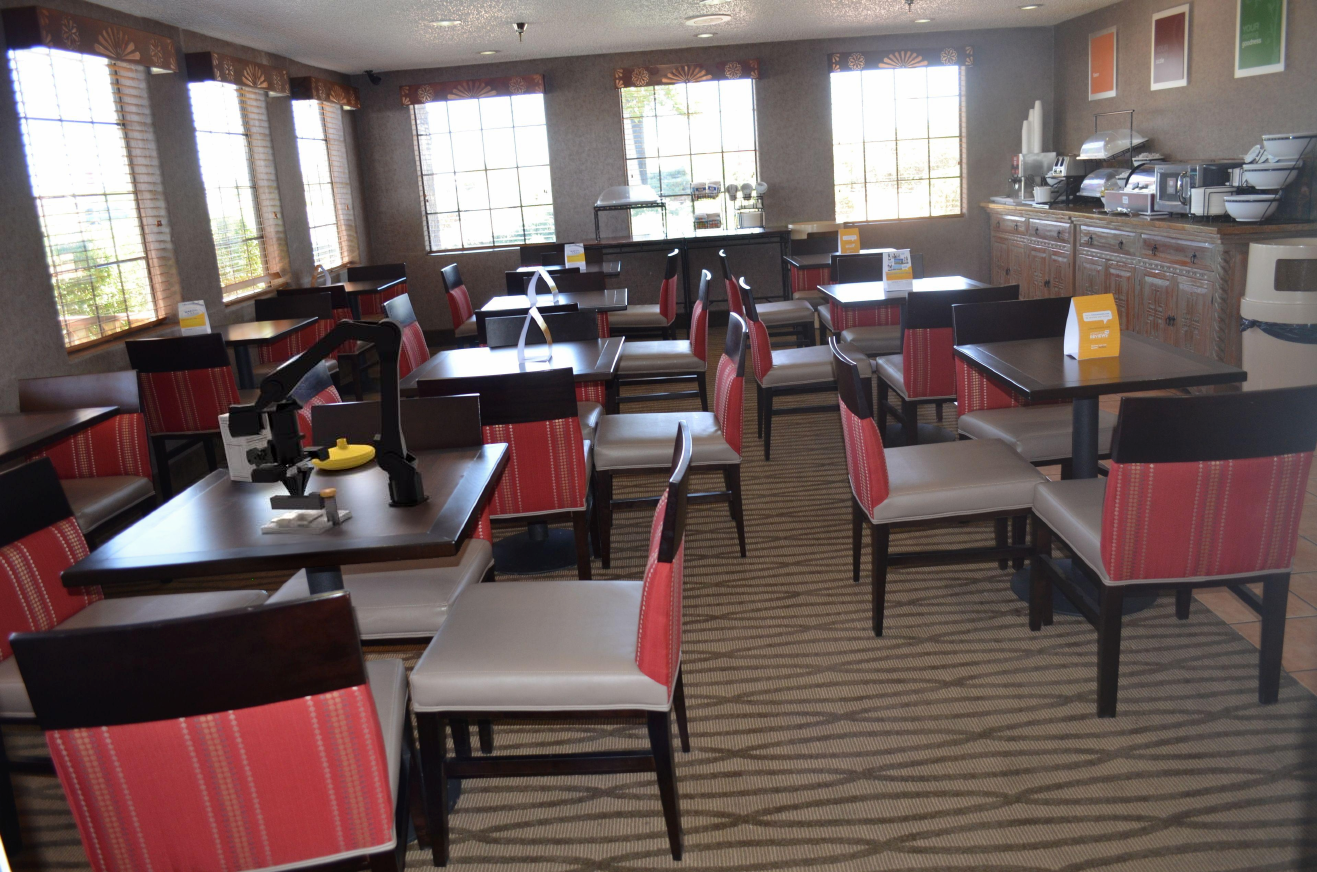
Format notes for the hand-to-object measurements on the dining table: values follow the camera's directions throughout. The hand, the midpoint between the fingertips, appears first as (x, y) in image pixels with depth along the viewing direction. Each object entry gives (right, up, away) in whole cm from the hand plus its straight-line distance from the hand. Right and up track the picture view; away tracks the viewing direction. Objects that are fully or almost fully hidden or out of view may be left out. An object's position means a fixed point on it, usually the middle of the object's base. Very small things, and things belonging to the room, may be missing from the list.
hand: (298, 503), depth 203 cm
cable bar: (+4, -1, -6) cm, 7 cm away
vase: (-4, +6, +42) cm, 43 cm away
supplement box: (-25, +4, +40) cm, 47 cm away
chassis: (+4, -4, -5) cm, 7 cm away
